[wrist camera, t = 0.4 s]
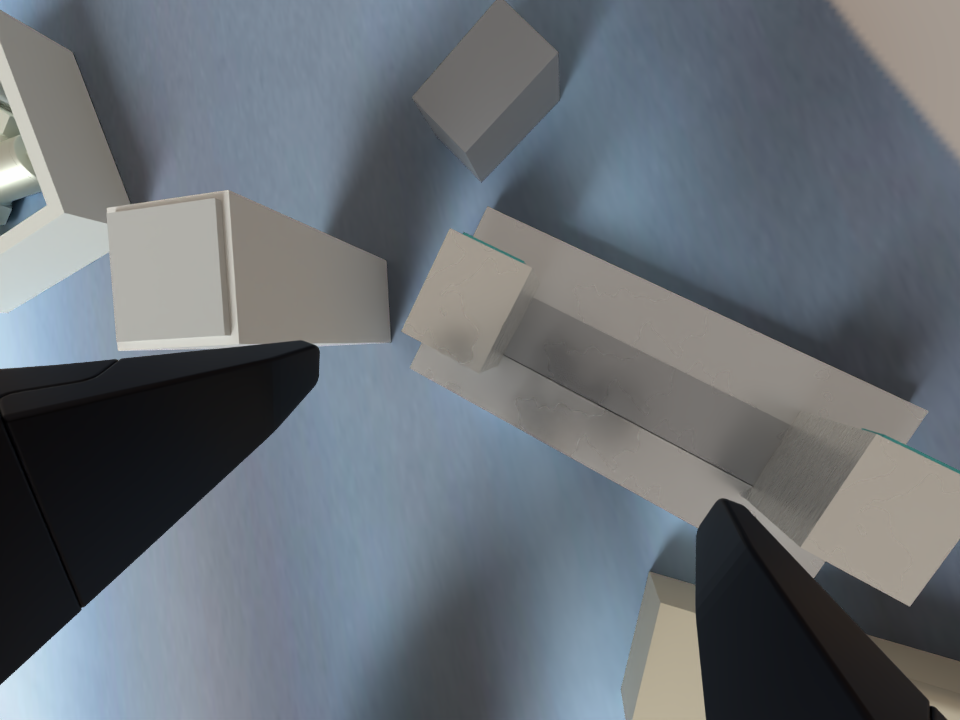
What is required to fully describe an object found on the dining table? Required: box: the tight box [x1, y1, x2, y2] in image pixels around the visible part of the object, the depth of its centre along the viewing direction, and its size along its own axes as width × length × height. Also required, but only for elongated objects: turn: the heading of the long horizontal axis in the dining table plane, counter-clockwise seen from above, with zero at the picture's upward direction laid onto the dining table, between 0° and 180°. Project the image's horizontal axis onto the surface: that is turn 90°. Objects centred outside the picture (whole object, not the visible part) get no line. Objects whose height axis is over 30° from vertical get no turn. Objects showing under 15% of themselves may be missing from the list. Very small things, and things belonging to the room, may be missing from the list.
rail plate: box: [401, 206, 960, 607], centre depth 19 cm, size 10×23×6 cm, turn 64°
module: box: [106, 190, 391, 351], centre depth 20 cm, size 5×5×12 cm
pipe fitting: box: [0, 100, 42, 225], centre depth 29 cm, size 8×4×7 cm
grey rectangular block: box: [412, 0, 560, 183], centre depth 22 cm, size 6×4×4 cm, turn 134°
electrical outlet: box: [621, 571, 960, 720], centre depth 20 cm, size 7×4×18 cm
